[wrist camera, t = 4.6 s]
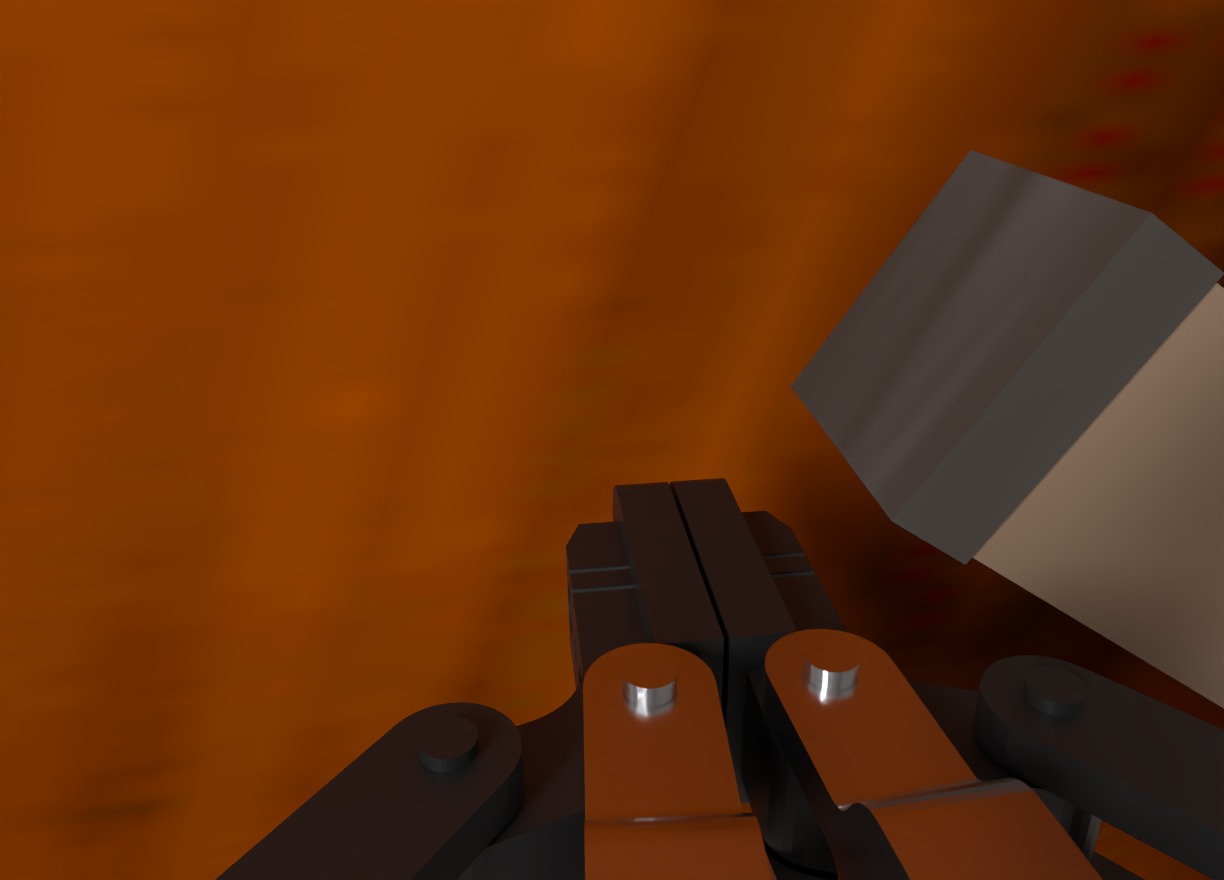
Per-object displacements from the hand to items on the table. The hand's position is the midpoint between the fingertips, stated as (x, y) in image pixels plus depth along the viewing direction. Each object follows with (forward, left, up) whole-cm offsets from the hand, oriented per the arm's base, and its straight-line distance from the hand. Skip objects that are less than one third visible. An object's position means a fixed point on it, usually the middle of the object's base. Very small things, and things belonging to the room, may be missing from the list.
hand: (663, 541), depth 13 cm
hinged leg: (+4, +13, -2) cm, 14 cm away
